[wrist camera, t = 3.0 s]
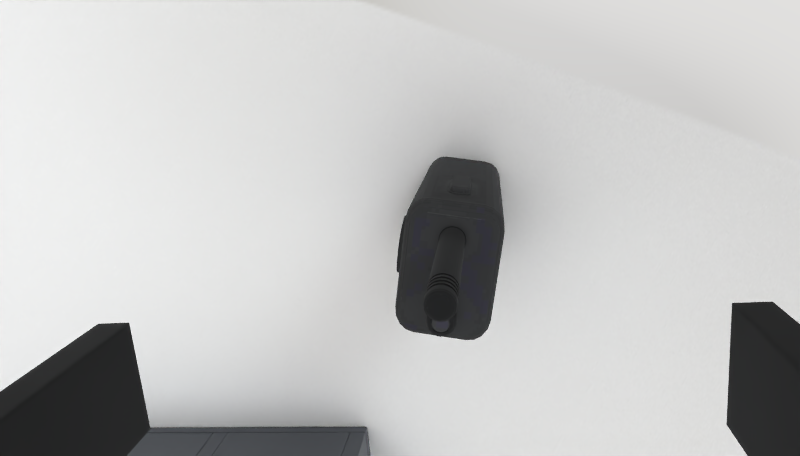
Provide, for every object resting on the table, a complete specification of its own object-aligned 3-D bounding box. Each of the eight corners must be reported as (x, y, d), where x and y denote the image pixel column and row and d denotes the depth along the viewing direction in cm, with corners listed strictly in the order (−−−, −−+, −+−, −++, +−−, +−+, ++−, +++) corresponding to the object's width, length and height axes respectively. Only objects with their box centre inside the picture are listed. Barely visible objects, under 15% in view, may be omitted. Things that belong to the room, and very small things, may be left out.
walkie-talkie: (486, 260, 30) (487, 451, 15) (414, 250, 30) (349, 427, 16) (502, 157, 28) (518, 260, 14) (426, 148, 29) (367, 239, 14)
